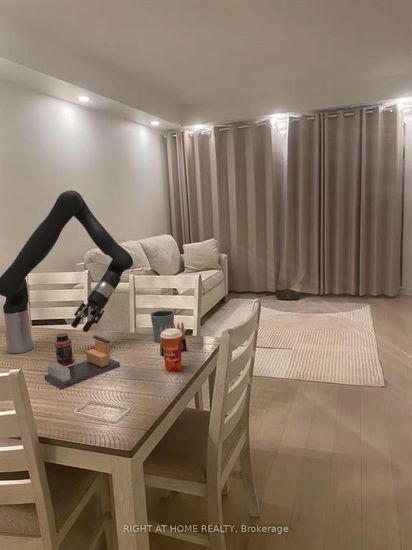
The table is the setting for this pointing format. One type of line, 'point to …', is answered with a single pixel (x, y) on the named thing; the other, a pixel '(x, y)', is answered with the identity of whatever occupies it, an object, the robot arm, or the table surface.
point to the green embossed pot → (161, 322)
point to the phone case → (101, 417)
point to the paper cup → (172, 349)
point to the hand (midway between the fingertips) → (78, 329)
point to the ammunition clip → (183, 340)
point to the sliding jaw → (99, 352)
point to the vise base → (75, 372)
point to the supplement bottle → (63, 349)
